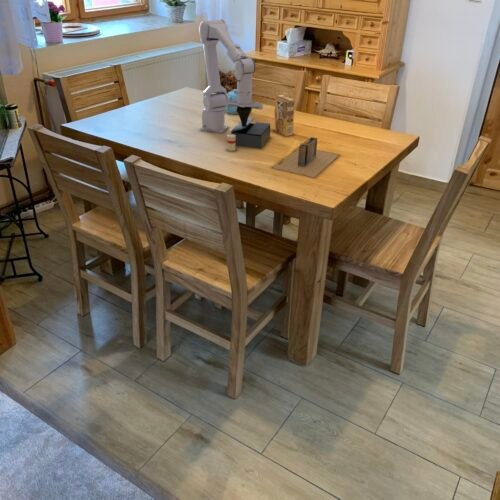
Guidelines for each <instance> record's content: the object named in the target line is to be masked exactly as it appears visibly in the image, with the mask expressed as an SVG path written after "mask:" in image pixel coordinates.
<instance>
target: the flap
mask: <svg viewBox="0 0 500 500" xmlns="http://www.w3.org/2000/svg"><path fill="white" fill-rule="evenodd" d="M255 118H256V117H254V116H253V117H250V118H249V117H248V120H247V125H246V126H242V124H241V120H239V122H238V123H237V124H236V125H235V126H234V127H233V128H232V129H231V130H230V133H231V132H232V131H237V130H241V129H245V128H246V127H247V126H248V125H249V124H250V123H253V121H254V120H255Z"/></svg>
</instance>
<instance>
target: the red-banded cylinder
mask: <svg viewBox="0 0 500 500" xmlns="http://www.w3.org/2000/svg"><path fill="white" fill-rule="evenodd" d="M226 136H227V137H226V139H227V140H226V143H227V151H229V152H232V151H233V152H234V151H236V149H237V148H236V147H237V146H236V136H235V135H233V134H231V133H230V134H227V135H226Z"/></svg>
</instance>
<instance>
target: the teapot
mask: <svg viewBox="0 0 500 500" xmlns="http://www.w3.org/2000/svg"><path fill="white" fill-rule="evenodd" d="M227 95H228V98H229V100H237V88H235V89H232V91H228V92H227ZM253 95H254V93H253V92H252V96H253ZM236 109H237V107H233V106H227V107H226V109H225V110H224V112H225V113H227V114H232V115H238V113H237V110H236Z"/></svg>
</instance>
